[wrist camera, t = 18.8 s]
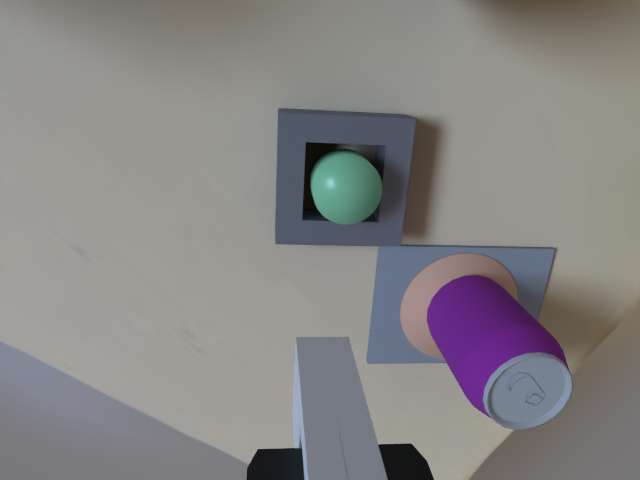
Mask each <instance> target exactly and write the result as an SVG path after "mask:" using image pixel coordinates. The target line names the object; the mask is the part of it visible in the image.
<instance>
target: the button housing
mask: <svg viewBox="0 0 640 480" xmlns="http://www.w3.org/2000/svg"><path fill="white" fill-rule="evenodd" d="M415 125H416V119H415V118H412V117H410V116H408V115H404V114H384V113H364V112H343V111H323V110H302V109H282V108H278V141H277V181H276V222H275V243H276V244H295V245H350V246H401V238H402V230H403V222H404V214H405V205H406V197H407V189H408V181H409V173H410V165H411V157H412V149H413V141H414V133H415ZM306 142H315V143H339V144H363V145H378V146H377V156H376V166H375V169H376V170H377V172H378V174H379V175H380V178H381V182H382V197H381V200H380V202H379V205H378V206H377V208H376V210H375V211H374V212H373V213H372V214H371V215H370V216H369V217H367V218H366V219H364V220H363V221H360V222H358V223H355V224H347V225H345V224H338V223H334V222H332V221H330V220H328V219H327V218H325V217H324V216H323V215H322V214H321V213H320V212H319V210H318V209H303V191H304V169H305V147H306Z"/></svg>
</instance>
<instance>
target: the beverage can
mask: <svg viewBox="0 0 640 480" xmlns="http://www.w3.org/2000/svg"><path fill="white" fill-rule="evenodd" d="M427 324H428V327H429V331H430V334H431V336H432V338H433V340H434V341H435V343H436V345H437V347H438V348H439V350H440V352H441V354H442V355H443V357H444V359H445V361H446V362H447V364H448V366H449V368H450V369H451V371H452V373H453V375H454V376H455V378H456V380H457V382H458V383H459V385H460V387H461V389H462V390H463V392H464V394H465V396H466V397H467V398H468V400H469V401H470V402H471V404H472V405H473V406H474V407H475V408H477V409H478V410H480V411H481V412H482V413H484V414H485V415H487V416H488V417H490V418H491V419H493V420H494V421H495V422H496V423H498V424H500V425H501V426H503V427H505V428H510V429H515V430H522V429H531V428H534V427H537V426H540V425H543V424H545V423H546V422H548V421H550V420H551V419H553V418H554V417H556V416H557V415H558V414H559V413H560V412H561V411H562V410H563V409H564V408H565V406H566V404H567V402H568V400H569V399H570V397H571V393H572V388H573V382H572V376H571V373H570V371H569V368H568V365H567V362H566V359H565V355H564V352H563V350H562V348H561V347H560V345H559V344H558V342H557V341H556V339H555V338H554V337H553V336H552V335H551V334H550V333H549V332H548V331H547V330H546V329H545V328H544V327H543V326H542V325H541V324H540V323H539V322H538V321H537V320H536V319H535V318H534V317H533V316H532V315H531V314H530V313H529V312H527V311H526V310H525V309H524V308H523V307H522V306H521V305H520V304H519V303H518V302H517V301H516V300H515V299H514V298H513V297H512V296H511V295H510V294H509V293H508V292H507V291H506V290H505V289H504V288H503V287H502V286H500V285H499V284H498V283H496V282H495V281H493V280H492V279H490V278H487V277H483V276H480V275H469V276H462V277H460V278H457V279H454V280H451V281H450V282H449V283H447V284H446V285H444V286H443V287H441V288H440V289H439V291H438V292H437V293H436V294H435V295H434V296H433V298H432V300H431V302H430V304H429V307H428V309H427Z"/></svg>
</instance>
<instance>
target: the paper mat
mask: <svg viewBox="0 0 640 480" xmlns="http://www.w3.org/2000/svg"><path fill="white" fill-rule="evenodd" d="M554 252H555V249H554V248H553V247H500V246H447V245H401V246H379V250H378V260H377V269H376V278H375V288H374V297H373V306H372V316H371V325H370V334H369V343H368V353H367V364H379V363H447V362H446V361H445V359H444V357H443V355H442V354H441V352H440V350H439V348H438V347H437V345H436V343H435V341H434V340H433V338H432V336H431V334H430V331H429V327H428V324H427V309H428V307H429V304H430V302H431V300H432V298H433V296H434V295H435V294H436V293H437V292H438V291H439V289H440V288H441V287H443V286H444V285H446V284H447V283H449V282H450V281H451V280H454V279H457V278H460V277H462V276H469V275H480V276H483V277H487V278H490V279H492V280H493V281H495V282H496V283H498V284H499V285H500V286H502V287H503V288H504V289H505V290H506V291H507V292H508V293H509V294H510V295H511V296H512V297H513V298H514V299H515V300H516V301H517V302H518V303H519V304H520V305H521V306H522V307H523V308H524V309H525V310H526V311H527V312H529V313H530V314H531V315H532V316H533V317H534V318H535V319H536V320H537V321H538V317H539V313H540V309H541V304H542V300H543V296H544V292H545V288H546V284H547V280H548V276H549V272H550V268H551V264H552V260H553V256H554Z"/></svg>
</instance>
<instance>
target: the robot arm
mask: <svg viewBox="0 0 640 480" xmlns="http://www.w3.org/2000/svg"><path fill="white" fill-rule="evenodd" d="M293 432H294V448H286V449H258V450H257V452H256V454H255V455H254V457H253V459H252V461H251V463H250V464H249V466H248V468H247V480H434V479H433V476H432V473H431V471H430V468H429V465H428V463H427V461H426V460H425V458H424V457H423V456H422V455H421V454H420V453H419V452H418V451H417V449H416V448H415V447H414V446H413V445H412V444H380V445H378V443H377V439H376V435H375V432H374V428H373V424H372V421H371V417H370V413H369V410H368V406H367V402H366V399H365V395H364V392H363V388H362V384H361V381H360V377H359V373H358V370H357V366H356V362H355V359H354V355H353V351H352V348H351V344H350V340H349V337H296V349H295V371H294V394H293Z"/></svg>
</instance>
